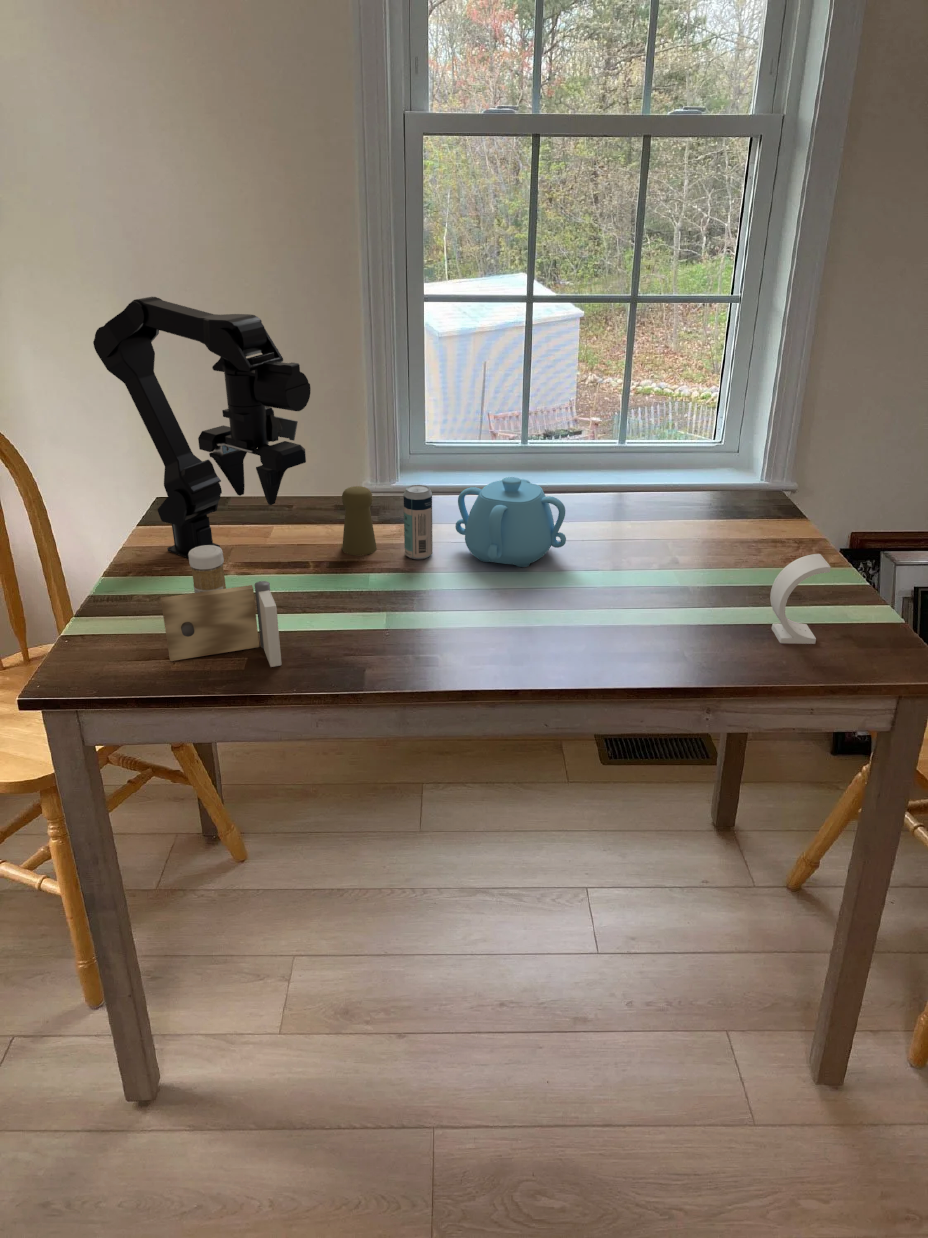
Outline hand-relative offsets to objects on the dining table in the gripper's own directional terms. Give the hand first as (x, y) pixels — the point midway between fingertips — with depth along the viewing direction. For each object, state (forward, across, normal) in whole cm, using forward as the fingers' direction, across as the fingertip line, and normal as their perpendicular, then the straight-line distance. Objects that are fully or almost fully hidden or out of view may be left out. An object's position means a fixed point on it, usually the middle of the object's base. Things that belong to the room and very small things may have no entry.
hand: (256, 499), depth 151 cm
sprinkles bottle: (+12, -13, +20) cm, 27 cm away
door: (+12, -17, +24) cm, 32 cm away
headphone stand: (+12, -78, -30) cm, 84 cm away
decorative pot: (+12, -29, -30) cm, 44 cm away
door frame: (+12, -23, +19) cm, 32 cm away
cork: (+12, -7, -16) cm, 21 cm away
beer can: (+12, -17, -20) cm, 29 cm away
